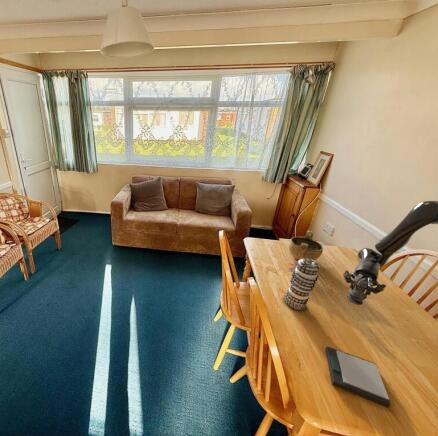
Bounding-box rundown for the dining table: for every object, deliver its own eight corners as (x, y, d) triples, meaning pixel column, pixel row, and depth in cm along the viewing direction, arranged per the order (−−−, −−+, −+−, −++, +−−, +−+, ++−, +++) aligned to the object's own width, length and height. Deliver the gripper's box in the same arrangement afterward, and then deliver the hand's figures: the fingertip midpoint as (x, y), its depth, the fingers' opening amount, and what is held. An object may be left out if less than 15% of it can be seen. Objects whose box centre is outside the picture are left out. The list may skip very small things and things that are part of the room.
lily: (281, 276, 127) (291, 269, 120) (285, 260, 134) (295, 252, 126) (303, 287, 124) (315, 281, 117) (306, 270, 131) (318, 263, 123)
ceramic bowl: (290, 246, 154) (296, 226, 148) (320, 255, 144) (328, 234, 138) (281, 260, 139) (288, 239, 133) (315, 272, 129) (323, 250, 123)
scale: (371, 368, 81) (376, 362, 79) (386, 409, 70) (392, 403, 68) (324, 351, 87) (327, 344, 85) (330, 386, 76) (334, 380, 74)
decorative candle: (309, 314, 103) (327, 269, 92) (287, 311, 104) (302, 267, 93) (300, 299, 111) (316, 256, 100) (280, 296, 112) (294, 254, 102)
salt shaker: (361, 307, 93) (373, 284, 88) (343, 299, 97) (354, 276, 92) (365, 301, 96) (377, 278, 91) (348, 293, 100) (358, 271, 95)
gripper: (349, 258, 105) (341, 275, 95) (392, 273, 96) (388, 293, 85) (343, 271, 109) (335, 288, 98) (384, 286, 99) (379, 307, 89)
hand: (359, 290), depth 92 cm, fingers closed on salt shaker, 3 cm apart
